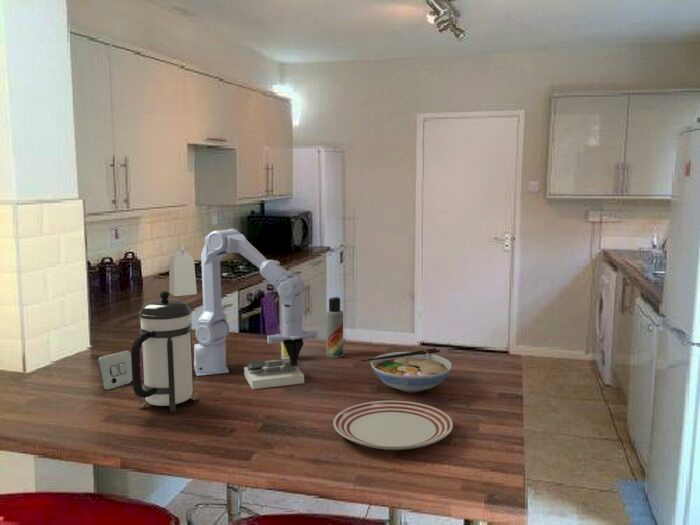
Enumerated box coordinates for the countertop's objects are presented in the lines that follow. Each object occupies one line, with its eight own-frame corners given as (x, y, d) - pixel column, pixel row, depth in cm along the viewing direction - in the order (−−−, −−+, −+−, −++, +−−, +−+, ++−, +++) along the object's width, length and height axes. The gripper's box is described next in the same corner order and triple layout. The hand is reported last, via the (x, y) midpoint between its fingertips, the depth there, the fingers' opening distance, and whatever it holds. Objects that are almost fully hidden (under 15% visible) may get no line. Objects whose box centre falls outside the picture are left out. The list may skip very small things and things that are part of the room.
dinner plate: (308, 432, 133) (308, 418, 133) (387, 402, 152) (388, 390, 152) (398, 474, 114) (398, 458, 113) (476, 434, 133) (477, 420, 132)
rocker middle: (269, 367, 165) (268, 361, 166) (264, 366, 172) (263, 361, 172) (282, 365, 167) (282, 360, 167) (277, 365, 173) (277, 359, 174)
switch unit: (252, 389, 161) (252, 377, 161) (244, 375, 173) (244, 363, 173) (304, 383, 166) (304, 371, 166) (292, 369, 178) (292, 358, 178)
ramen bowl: (388, 409, 147) (388, 378, 146) (354, 381, 168) (354, 354, 167) (471, 396, 156) (472, 366, 155) (429, 371, 177) (429, 345, 176)
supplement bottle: (301, 359, 189) (301, 328, 188) (287, 362, 186) (286, 331, 185) (292, 355, 194) (291, 325, 192) (278, 358, 190) (277, 328, 189)
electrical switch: (105, 391, 160) (102, 358, 159) (96, 388, 163) (93, 356, 163) (136, 382, 167) (133, 350, 167) (127, 380, 170) (124, 349, 170)
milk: (196, 294, 304) (195, 245, 301) (174, 296, 298) (172, 246, 295) (190, 290, 314) (189, 243, 311) (169, 292, 308) (167, 244, 305)
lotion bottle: (341, 358, 190) (341, 299, 187) (324, 357, 191) (324, 298, 188) (344, 354, 195) (344, 296, 193) (328, 353, 196) (328, 295, 194)
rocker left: (251, 367, 164) (251, 361, 164) (247, 370, 170) (247, 364, 171) (265, 365, 165) (264, 360, 166) (261, 368, 172) (260, 363, 172)
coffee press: (134, 398, 154) (128, 288, 150) (195, 391, 160) (191, 284, 156) (134, 423, 138) (128, 300, 134) (202, 413, 144) (198, 295, 140)
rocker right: (286, 367, 167) (285, 362, 167) (280, 362, 174) (280, 357, 174) (299, 366, 168) (299, 360, 168) (293, 361, 175) (293, 356, 175)
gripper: (270, 324, 159) (272, 371, 161) (320, 319, 164) (321, 365, 166) (265, 319, 166) (267, 365, 167) (313, 314, 171) (315, 359, 172)
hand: (293, 364), depth 167 cm, fingers closed, pressing on rocker right
